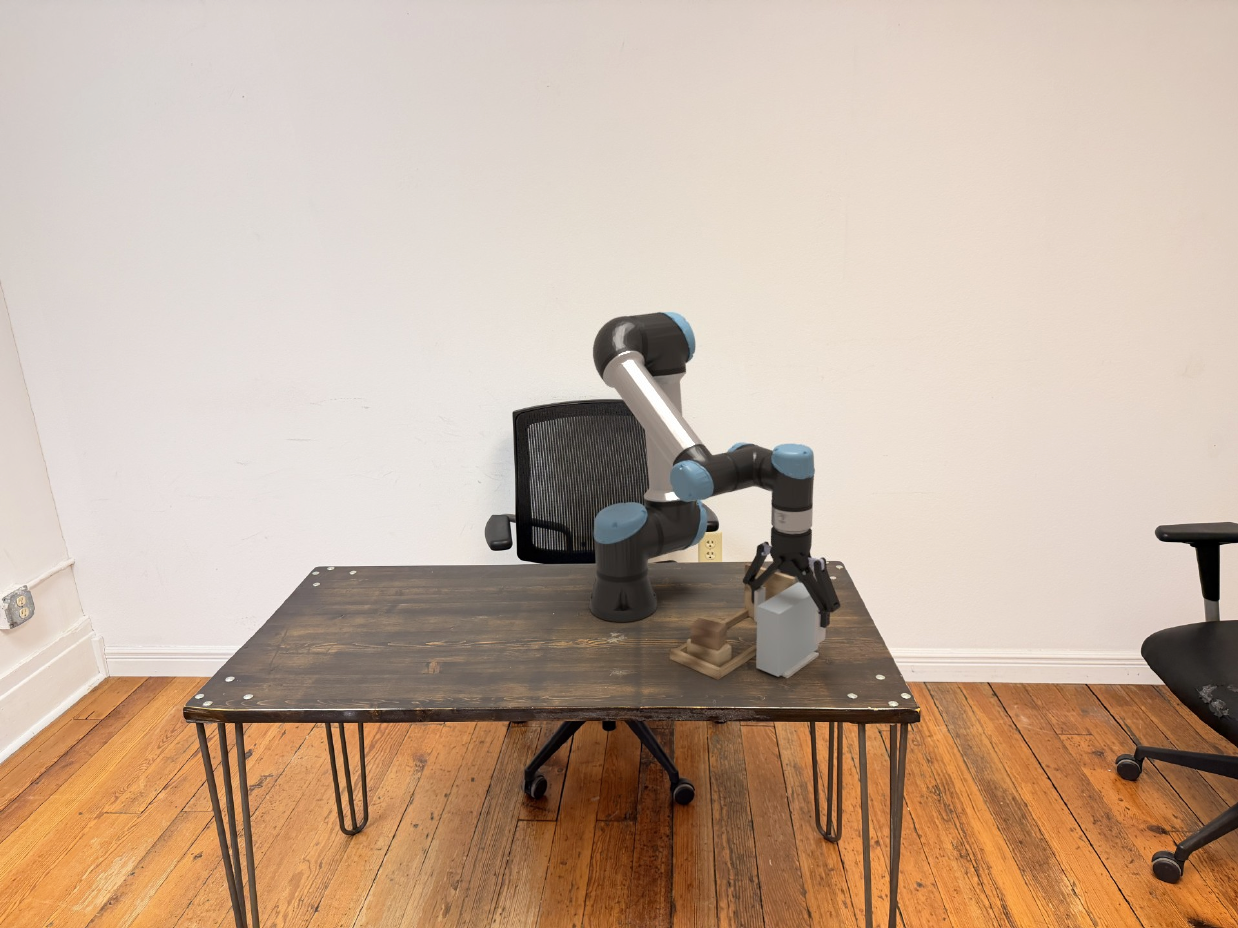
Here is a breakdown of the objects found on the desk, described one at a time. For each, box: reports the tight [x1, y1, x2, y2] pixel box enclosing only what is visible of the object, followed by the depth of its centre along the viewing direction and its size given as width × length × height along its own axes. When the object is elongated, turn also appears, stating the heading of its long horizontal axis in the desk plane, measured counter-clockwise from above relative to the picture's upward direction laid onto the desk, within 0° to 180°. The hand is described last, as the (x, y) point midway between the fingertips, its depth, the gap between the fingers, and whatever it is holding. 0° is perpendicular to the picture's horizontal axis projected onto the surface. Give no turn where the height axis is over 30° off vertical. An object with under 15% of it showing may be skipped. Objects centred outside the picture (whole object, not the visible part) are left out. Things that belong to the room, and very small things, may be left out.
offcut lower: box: [686, 637, 733, 668], centre depth 161 cm, size 8×4×4 cm, turn 43°
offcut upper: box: [690, 617, 727, 651], centre depth 160 cm, size 6×4×4 cm, turn 56°
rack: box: [669, 562, 795, 681], centre depth 166 cm, size 12×26×12 cm, turn 136°
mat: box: [780, 651, 820, 679], centre depth 161 cm, size 7×11×1 cm, turn 136°
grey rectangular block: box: [755, 582, 819, 678], centre depth 159 cm, size 5×14×13 cm, turn 135°
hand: (788, 629), depth 159 cm, fingers open, 13 cm apart
